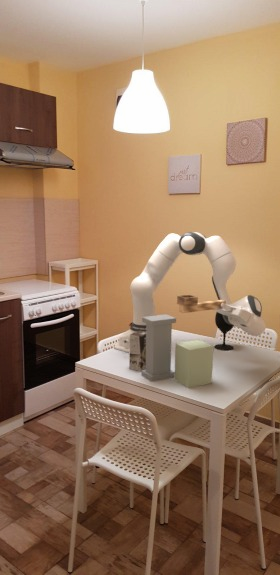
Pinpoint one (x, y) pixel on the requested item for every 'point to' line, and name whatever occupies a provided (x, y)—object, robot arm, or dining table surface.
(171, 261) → the robot arm
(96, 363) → the dining table surface
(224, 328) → the wine glass
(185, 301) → the catapult arm
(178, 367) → the box
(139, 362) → the coffee box
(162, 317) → the tower
